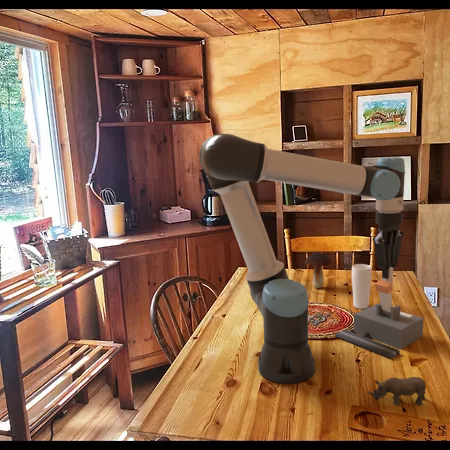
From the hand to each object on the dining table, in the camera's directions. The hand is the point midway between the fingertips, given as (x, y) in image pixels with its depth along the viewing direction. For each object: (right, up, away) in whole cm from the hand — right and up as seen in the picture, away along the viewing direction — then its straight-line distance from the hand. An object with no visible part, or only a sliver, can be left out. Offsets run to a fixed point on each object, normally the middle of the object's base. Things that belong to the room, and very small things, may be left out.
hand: (387, 287), depth 134 cm
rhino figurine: (-9, -22, -31) cm, 39 cm away
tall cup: (0, -11, +26) cm, 28 cm away
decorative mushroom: (-11, -7, +48) cm, 49 cm away
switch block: (+1, -15, +3) cm, 15 cm away
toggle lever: (+1, -7, +2) cm, 8 cm away
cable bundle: (-6, -16, -2) cm, 17 cm away
